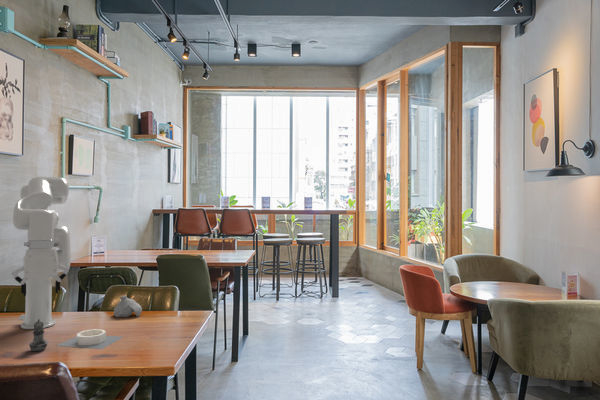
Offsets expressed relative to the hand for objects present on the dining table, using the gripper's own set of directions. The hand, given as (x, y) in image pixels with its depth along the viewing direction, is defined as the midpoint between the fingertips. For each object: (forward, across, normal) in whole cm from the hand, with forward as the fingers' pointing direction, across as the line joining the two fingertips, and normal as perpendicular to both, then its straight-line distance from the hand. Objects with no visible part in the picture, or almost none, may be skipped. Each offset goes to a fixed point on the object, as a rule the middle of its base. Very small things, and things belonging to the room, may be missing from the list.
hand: (41, 294), depth 155 cm
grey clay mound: (+21, +35, +38) cm, 56 cm away
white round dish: (+19, +16, +1) cm, 25 cm away
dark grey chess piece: (+21, -1, 0) cm, 21 cm away
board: (+21, +16, +1) cm, 26 cm away
